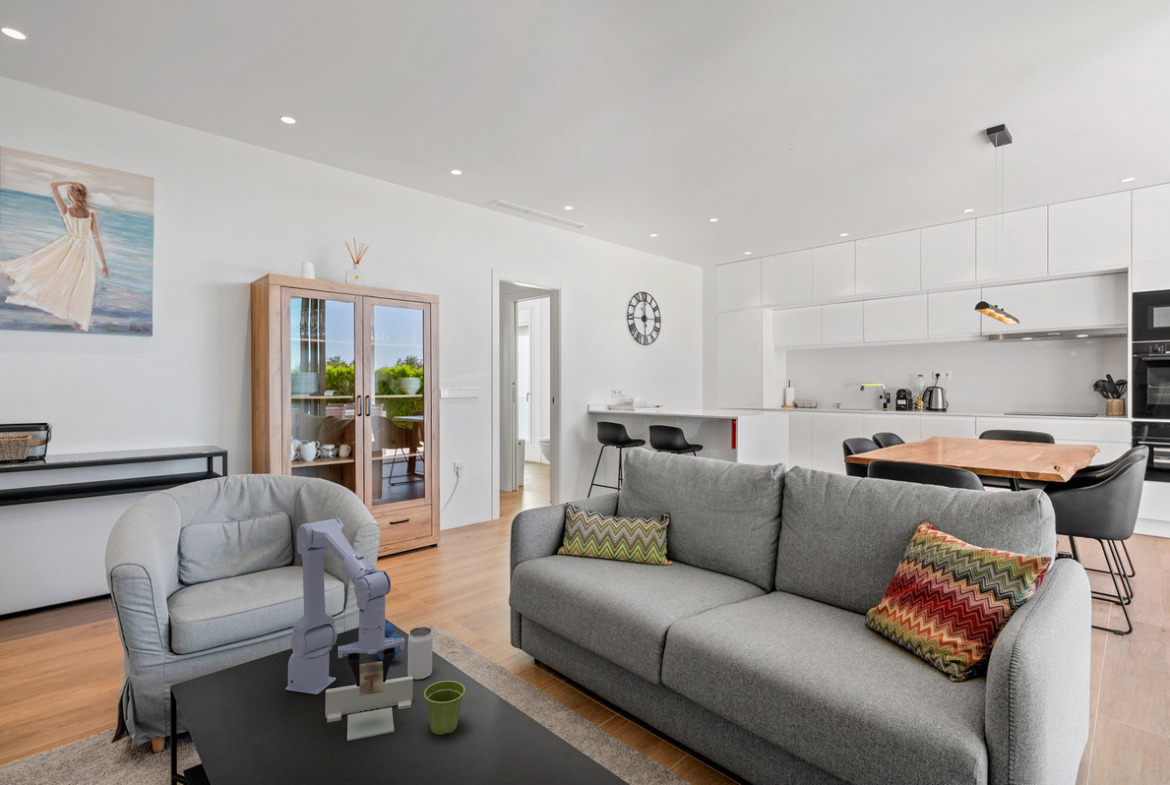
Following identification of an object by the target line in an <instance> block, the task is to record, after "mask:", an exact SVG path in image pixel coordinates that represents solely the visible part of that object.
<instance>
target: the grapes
mask: <svg viewBox="0 0 1170 785" xmlns="http://www.w3.org/2000/svg"><path fill="white" fill-rule="evenodd" d="M385 638H401V636H400V635H399V634H398V633H396V632H395V625H394V624H393V623H391V622H387V620H386V619H385ZM400 653H401V649H399V648H398V649H395V656H394V659H393V661H392V662H391V663H393V662H394V661H395V660H396V656H399V655H400ZM377 657H378V659H379V660H381V661H383V651H377Z"/></svg>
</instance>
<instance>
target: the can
mask: <svg viewBox="0 0 1170 785" xmlns="http://www.w3.org/2000/svg"><path fill="white" fill-rule="evenodd" d="M407 639H408V640H407V677H408V676H412V677H413V680H414V679H415V680H416V681H418V680H419V681H421V680H424V678H425V679H427V678H428V676H429V677H431V675H432V674H433V673H432V672H433V642H434V641H433V640H434V639H433V633H432V628H430V627H426V626H421V627H420V626H419V627H414V628H412V629H411V630H410V631H409V635H408V637H407ZM426 677H427V678H426ZM420 679H421V680H420Z"/></svg>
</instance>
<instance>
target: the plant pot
mask: <svg viewBox="0 0 1170 785" xmlns="http://www.w3.org/2000/svg"><path fill="white" fill-rule="evenodd" d="M465 693H466V687H465V686H464V684H462V683H460V682H458V681H455V680H441V681H437V682H434V683H432V684H430V685H428V686H427V687H426V688H425V689H424V692H423V696H424V699H425V700H426V704H427V711H428V720H429V727H430V731H431V732H432V733H433V734H435V735H439V736H441V735H444V734H452V733H453V732H454V731H455V730H456V729H457V727H458V723H459V716H460V710H461V706H462V705H461V703H462V700H463V698H464V695H465Z"/></svg>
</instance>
